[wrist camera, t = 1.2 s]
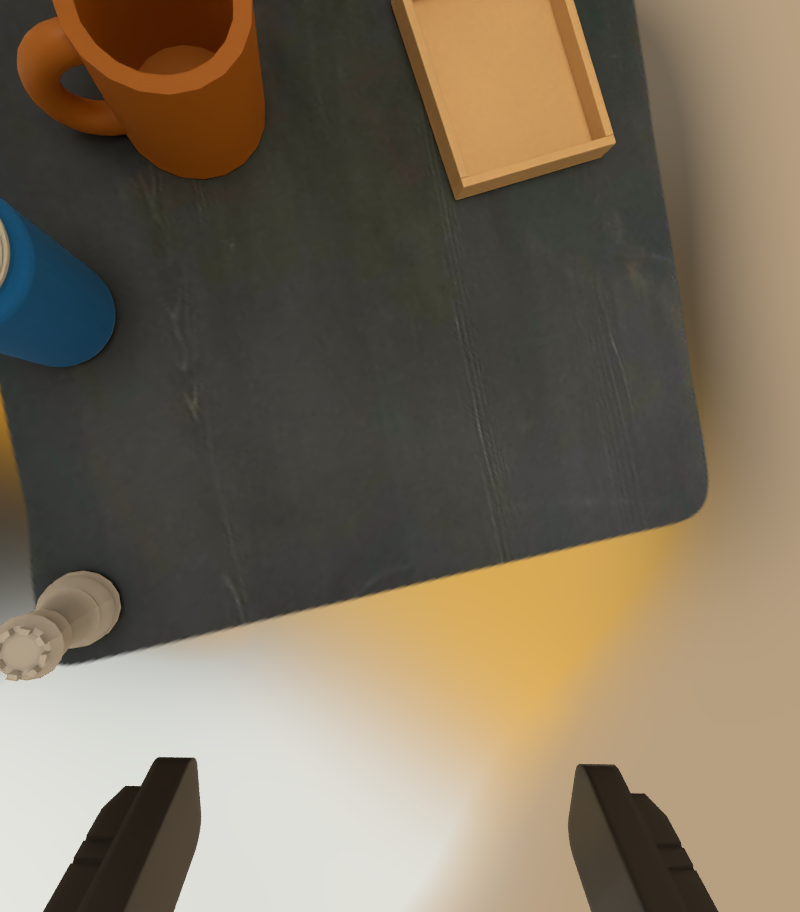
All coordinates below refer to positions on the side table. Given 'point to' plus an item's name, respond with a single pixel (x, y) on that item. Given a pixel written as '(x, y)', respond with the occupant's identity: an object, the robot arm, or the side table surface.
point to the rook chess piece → (58, 624)
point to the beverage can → (48, 298)
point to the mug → (155, 77)
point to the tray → (504, 88)
